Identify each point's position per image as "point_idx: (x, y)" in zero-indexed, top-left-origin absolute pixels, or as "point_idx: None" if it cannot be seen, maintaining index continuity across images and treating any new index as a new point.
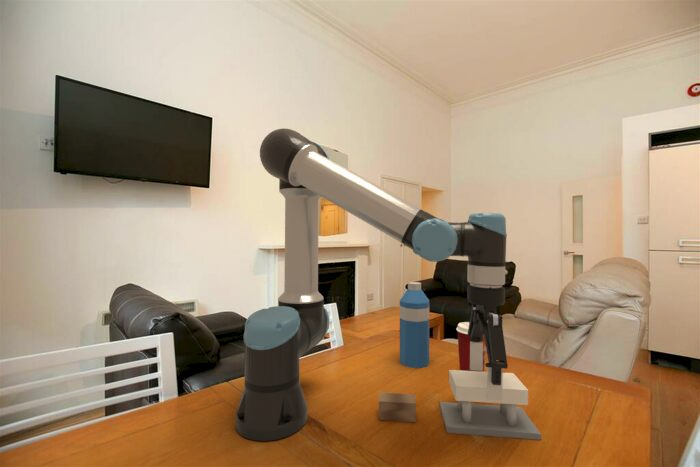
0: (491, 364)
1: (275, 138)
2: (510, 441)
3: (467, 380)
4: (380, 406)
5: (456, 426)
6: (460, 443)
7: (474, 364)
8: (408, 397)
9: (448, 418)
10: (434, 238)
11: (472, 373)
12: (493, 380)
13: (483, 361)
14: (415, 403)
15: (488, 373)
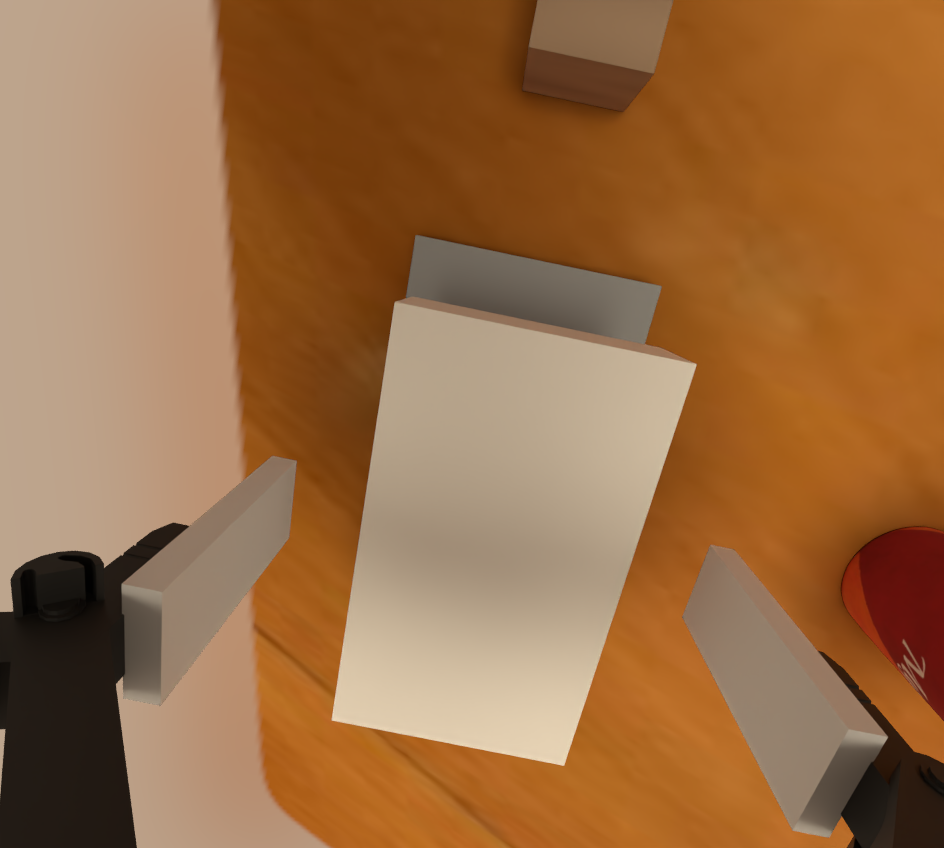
0: (24, 614)
1: None
2: (355, 486)
3: (484, 430)
4: None
5: (418, 287)
6: (343, 271)
7: (717, 596)
8: (617, 7)
9: (489, 272)
10: None
11: (596, 518)
12: (139, 541)
13: (937, 713)
14: (531, 43)
15: (167, 547)
